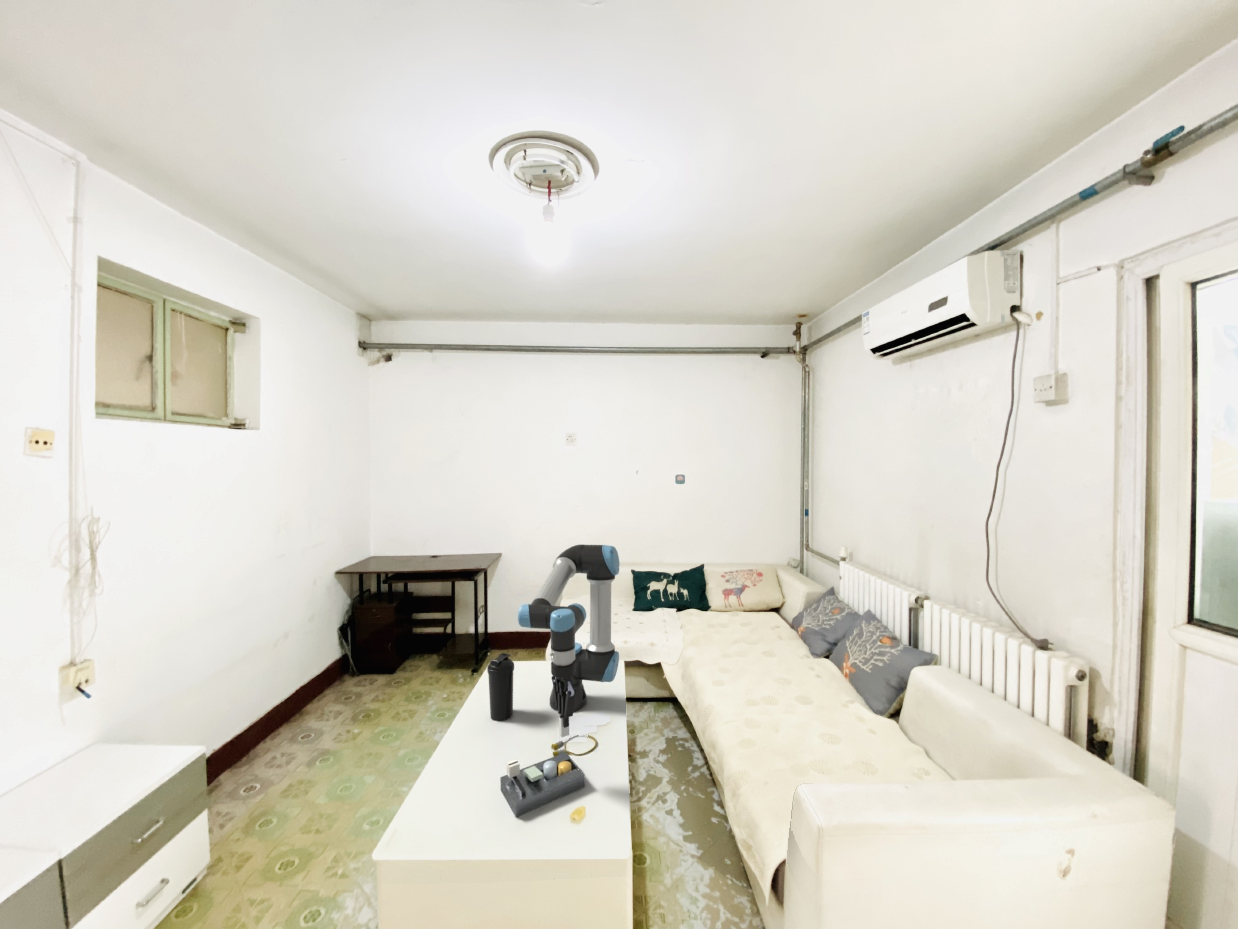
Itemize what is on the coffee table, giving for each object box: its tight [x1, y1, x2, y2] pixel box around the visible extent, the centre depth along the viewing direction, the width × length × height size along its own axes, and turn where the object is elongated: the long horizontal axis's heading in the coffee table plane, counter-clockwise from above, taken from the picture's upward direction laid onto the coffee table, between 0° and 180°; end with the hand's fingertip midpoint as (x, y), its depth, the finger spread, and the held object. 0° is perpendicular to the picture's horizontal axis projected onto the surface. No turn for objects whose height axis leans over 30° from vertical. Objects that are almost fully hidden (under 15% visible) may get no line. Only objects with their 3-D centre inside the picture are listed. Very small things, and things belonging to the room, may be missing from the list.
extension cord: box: [550, 734, 598, 757], centre depth 166 cm, size 12×16×2 cm
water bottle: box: [486, 652, 515, 722], centre depth 186 cm, size 10×10×23 cm
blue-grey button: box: [543, 761, 557, 781], centre depth 147 cm, size 4×4×4 cm
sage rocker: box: [523, 766, 543, 782], centre depth 144 cm, size 4×7×1 cm, turn 32°
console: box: [499, 752, 586, 818], centre depth 145 cm, size 22×13×5 cm, turn 122°
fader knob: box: [506, 759, 521, 778], centre depth 144 cm, size 3×2×3 cm
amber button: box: [558, 761, 571, 776], centre depth 149 cm, size 4×4×4 cm
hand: (564, 735), depth 149 cm, fingers closed
